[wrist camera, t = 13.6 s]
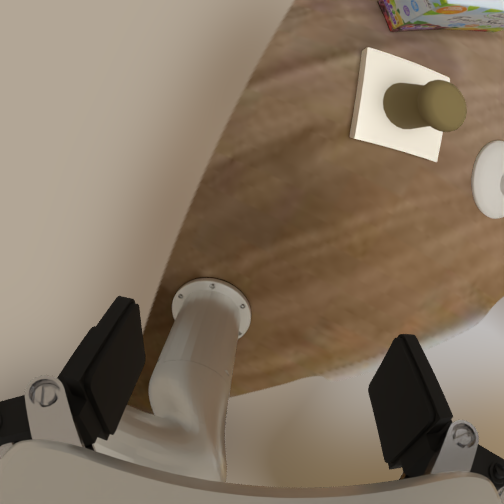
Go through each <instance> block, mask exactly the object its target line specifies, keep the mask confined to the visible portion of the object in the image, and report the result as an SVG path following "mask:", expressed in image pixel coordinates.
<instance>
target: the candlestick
mask: <svg viewBox="0 0 504 504" xmlns="http://www.w3.org/2000/svg"><path fill="white" fill-rule="evenodd" d="M471 185H472V193H473V198H474V201H475V203H476V205H477V207H478V208H479V210H480V211H481V212H482V213H483V214H485V215H486V216H488V217H490V218H495V219H497V218H502V217H504V141H500V140H495V141H492V142H489V143H488V144H486V145H485V146H484V147H483V148H482V149H481V151H480V152H479V154H478V156H477V158H476V160H475V163H474V166H473V171H472V179H471Z"/></svg>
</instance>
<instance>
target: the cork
mask: <svg viewBox="0 0 504 504" xmlns="http://www.w3.org/2000/svg"><path fill="white" fill-rule="evenodd" d="M383 109H384V111H385V114H386V116H387V118H388V119H389V120H390V122H391V123H393V124H394V125H395V126H396V127H399V128H402V129H415V128H421V127H428V126H431V127H432V128H434V129H436V130H438V131H442V132H451V131H454V130H457V129H458V128H459V127H460V126H461V125H462V124H463V122H464V120H465V118H466V113H467V109H466V103H465V99H464V97H463V95H462V94H461V92H460V91H459V90H458V89H457V88H456V87H455V86H454V85H453V84H451V83H449V82H447V81H444V80H434V81H430V82H428V83H427V84H425V85H418V84H409V83H396V84H393V85H391V86H390V87H389V88H388V89H387V90H386V92H385V94H384V98H383Z"/></svg>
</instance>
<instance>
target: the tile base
mask: <svg viewBox="0 0 504 504" xmlns="http://www.w3.org/2000/svg"><path fill="white" fill-rule="evenodd" d="M434 80H444V81H447V82H449V83H450V78H448V77H446V76H444V75H442V74H440V73H437V72H435V71H433V70H430V69H428V68H426V67H423V66H421V65H418V64H416V63H413V62H411V61H408V60H405V59H402V58H400V57H397V56H394V55H391V54H388V53H385V52H382V51H379V50H376V49H372V48H369V47H367V48H366V49H364V50H363V51H362V54H361V63H360V71H359V78H358V85H357V92H356V99H355V106H354V112H353V118H352V124H351V130H350V136H349V137H350V138H354V139H358V140H362V141H366V142H370V143H374V144H378V145H382V146H385V147H389V148H393V149H396V150H400V151H403V152H406V153H410V154H413V155H416V156H419V157H422V158H426V159H429V160H432V161H435V162H437V159H438V154H439V149H440V144H441V139H442V133H443V132H442V131H438V130H436V129H434V128H432V127H431V126H428V127H421V128H415V129H402V128H399V127H396V126H395V125H394V124H393V123H391V122H390V120H389V119H388V118H387V116H386V114H385V111H384V109H383V98H384V94H385V92H386V90H387V89H388V88H389V87H390V86H391V85H393V84H396V83H409V84H418V85H425V84H427V83H428V82H430V81H434Z"/></svg>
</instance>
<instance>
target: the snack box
mask: <svg viewBox="0 0 504 504" xmlns="http://www.w3.org/2000/svg"><path fill="white" fill-rule="evenodd" d="M378 3H379V5H380V7H381V9H382V12H383V14H384V16H385V18H386V21H387V23H388V26H389V28H390V31H391V32H396V31H412V30H438V29H446V30H474V31H486V32H496V31H501V30H504V0H379V1H378Z"/></svg>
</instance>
